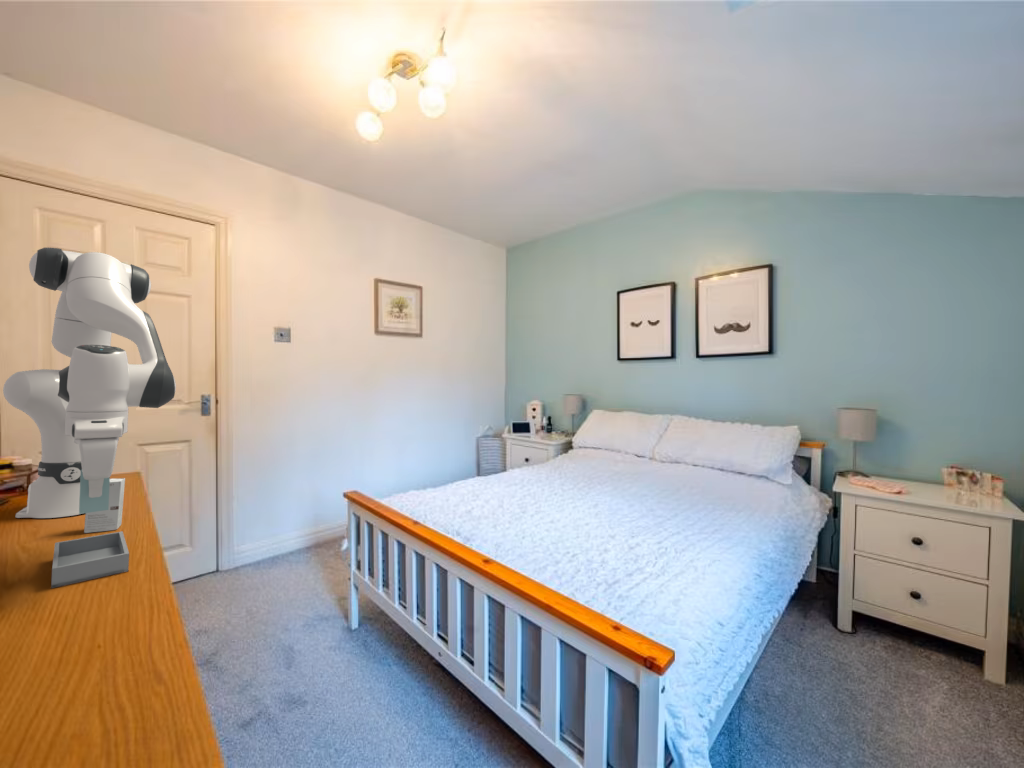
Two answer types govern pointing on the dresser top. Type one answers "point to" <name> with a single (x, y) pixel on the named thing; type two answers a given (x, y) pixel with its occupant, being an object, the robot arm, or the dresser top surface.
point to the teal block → (93, 503)
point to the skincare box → (113, 515)
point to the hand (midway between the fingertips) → (94, 493)
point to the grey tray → (89, 558)
